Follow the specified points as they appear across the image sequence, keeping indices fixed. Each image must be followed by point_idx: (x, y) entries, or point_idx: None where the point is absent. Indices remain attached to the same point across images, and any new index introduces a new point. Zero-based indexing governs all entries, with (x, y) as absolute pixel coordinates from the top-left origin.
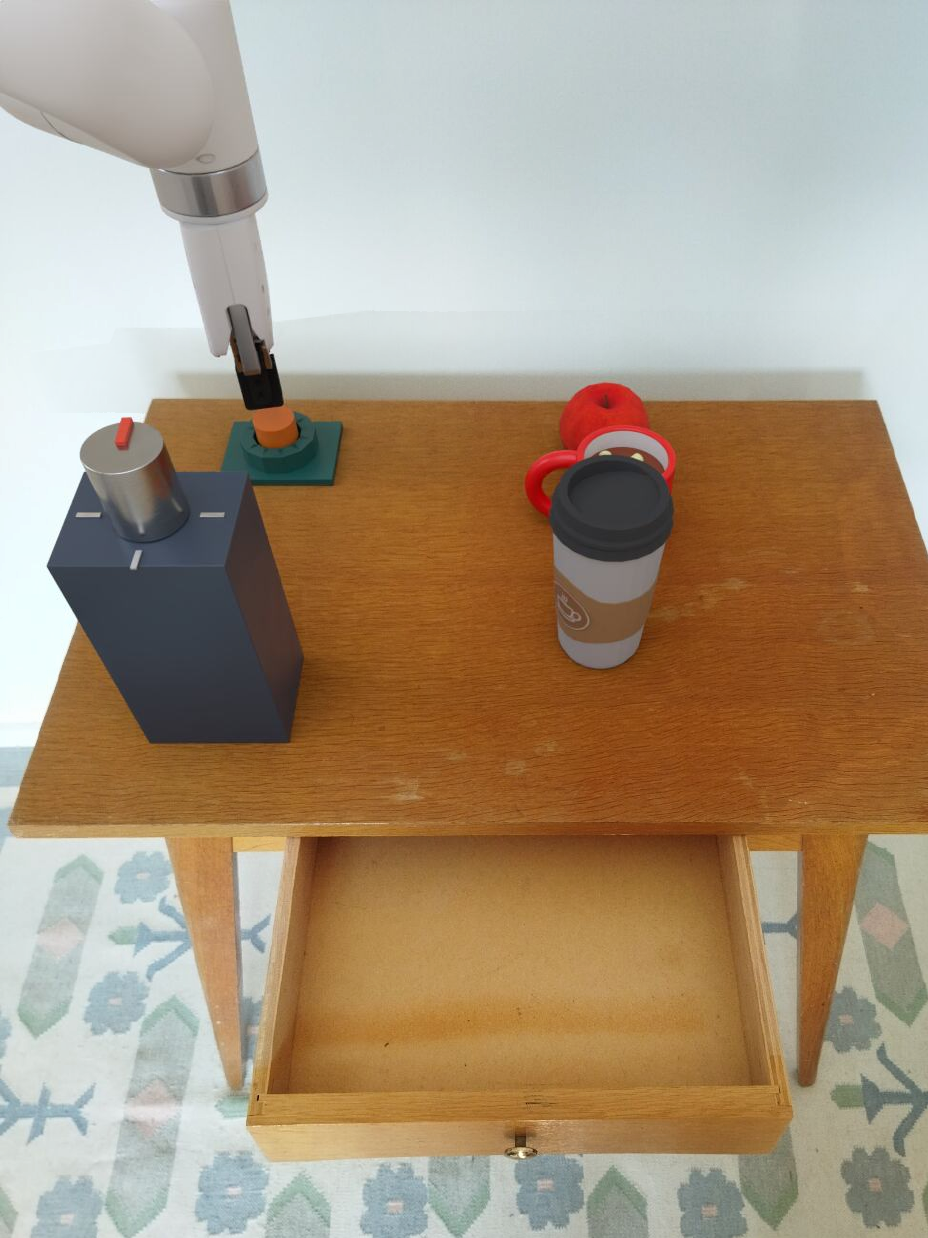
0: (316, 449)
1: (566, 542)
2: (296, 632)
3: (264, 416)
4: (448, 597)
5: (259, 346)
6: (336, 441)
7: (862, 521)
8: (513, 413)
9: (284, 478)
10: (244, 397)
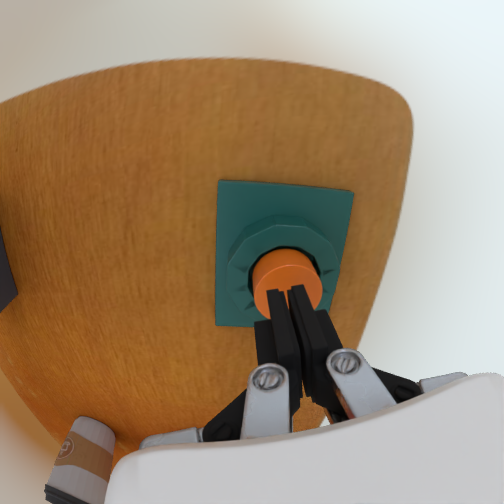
0: None
1: (46, 486)
2: (1, 311)
3: (295, 282)
4: (95, 384)
5: (328, 405)
6: None
7: None
8: (307, 423)
9: (216, 274)
10: (269, 308)
